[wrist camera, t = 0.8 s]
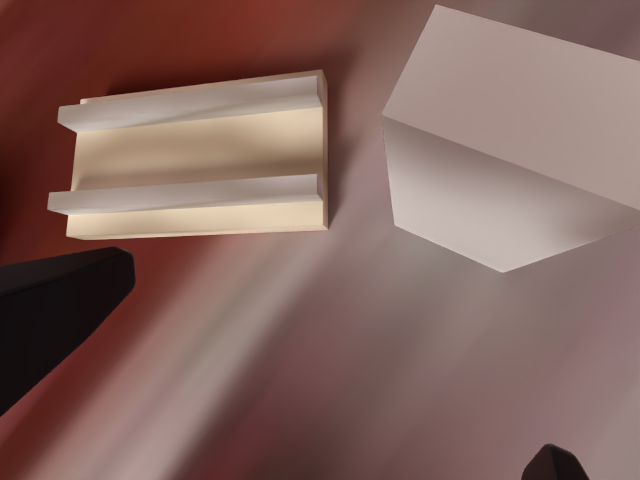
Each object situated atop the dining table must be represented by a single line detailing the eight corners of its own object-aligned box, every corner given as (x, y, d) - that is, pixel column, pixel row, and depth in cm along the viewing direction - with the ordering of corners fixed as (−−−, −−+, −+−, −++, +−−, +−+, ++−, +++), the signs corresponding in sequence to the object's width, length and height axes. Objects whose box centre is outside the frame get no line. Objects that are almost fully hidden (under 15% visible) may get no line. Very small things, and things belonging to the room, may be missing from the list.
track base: (327, 229, 23) (316, 218, 20) (85, 240, 26) (44, 231, 23) (327, 83, 24) (316, 52, 21) (98, 110, 27) (61, 87, 24)
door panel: (502, 273, 20) (661, 217, 8) (394, 225, 22) (381, 115, 9) (527, 220, 20) (720, 84, 8) (417, 176, 22) (436, 4, 9)
